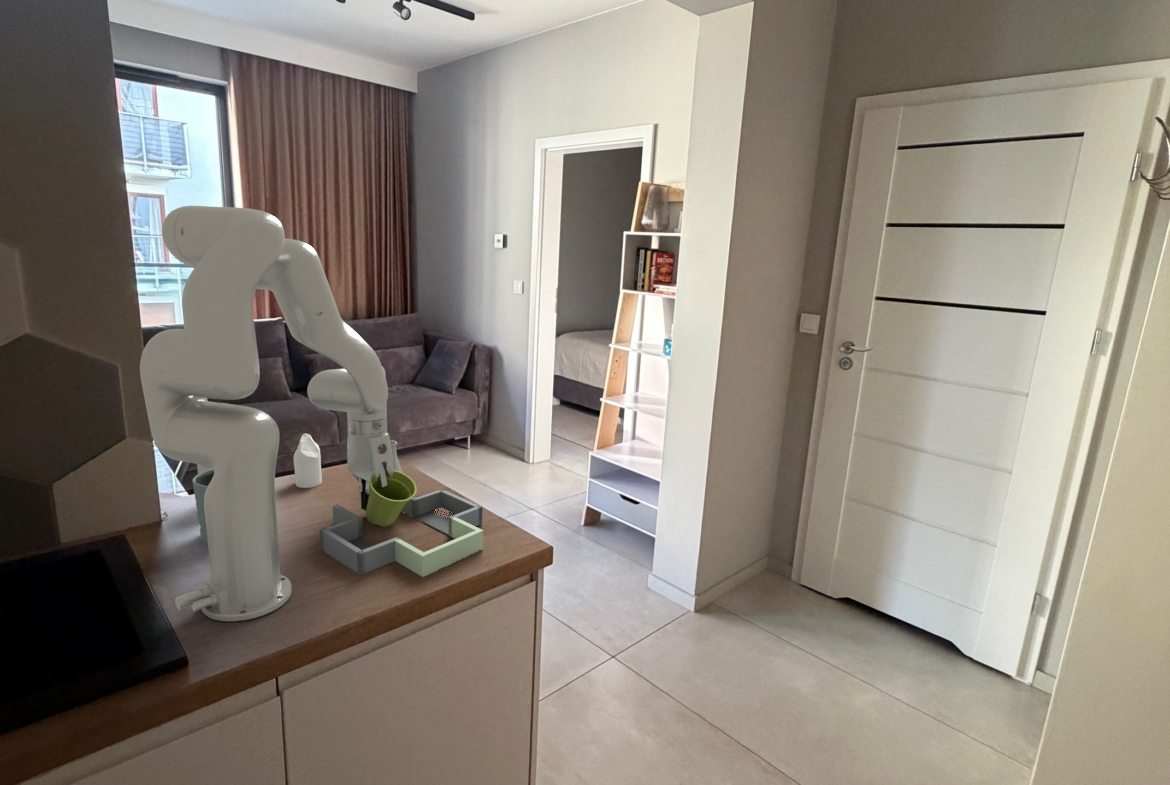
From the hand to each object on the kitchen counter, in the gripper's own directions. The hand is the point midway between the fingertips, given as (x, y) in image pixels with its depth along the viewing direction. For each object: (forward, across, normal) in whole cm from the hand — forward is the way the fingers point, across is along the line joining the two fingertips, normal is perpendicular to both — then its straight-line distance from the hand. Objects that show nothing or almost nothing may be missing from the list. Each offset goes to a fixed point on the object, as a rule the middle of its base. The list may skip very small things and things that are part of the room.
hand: (370, 508), depth 129 cm
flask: (+2, +12, -14) cm, 18 cm away
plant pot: (0, -4, +1) cm, 4 cm away
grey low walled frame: (+1, -14, +1) cm, 14 cm away
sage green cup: (+1, +11, +24) cm, 26 cm away
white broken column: (+2, +24, 0) cm, 24 cm away
